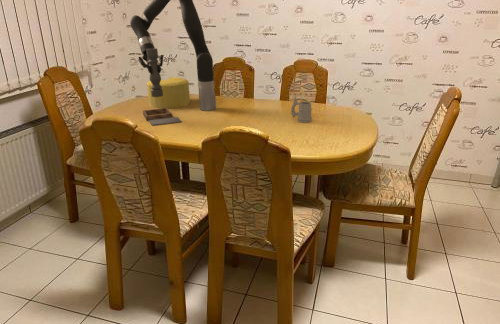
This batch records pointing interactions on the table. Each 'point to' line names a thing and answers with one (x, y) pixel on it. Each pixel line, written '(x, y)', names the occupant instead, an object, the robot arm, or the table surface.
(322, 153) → the table surface
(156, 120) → the rubber mat
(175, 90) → the cheese
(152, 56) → the candle holder
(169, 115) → the walnut frame
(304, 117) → the mug
